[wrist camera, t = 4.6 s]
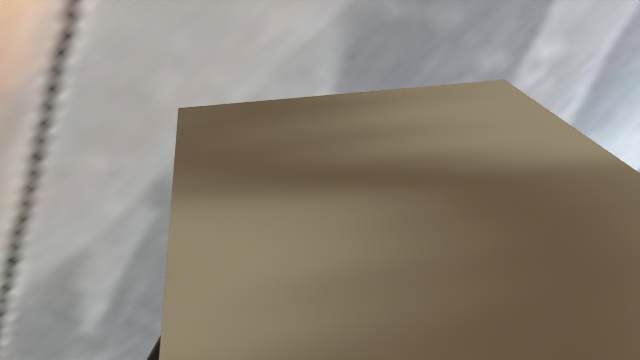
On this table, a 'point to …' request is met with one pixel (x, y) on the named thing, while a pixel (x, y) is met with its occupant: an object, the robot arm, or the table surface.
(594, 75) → the table surface
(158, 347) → the robot arm
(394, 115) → the module block
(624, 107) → the table surface
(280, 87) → the table surface
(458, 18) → the table surface
